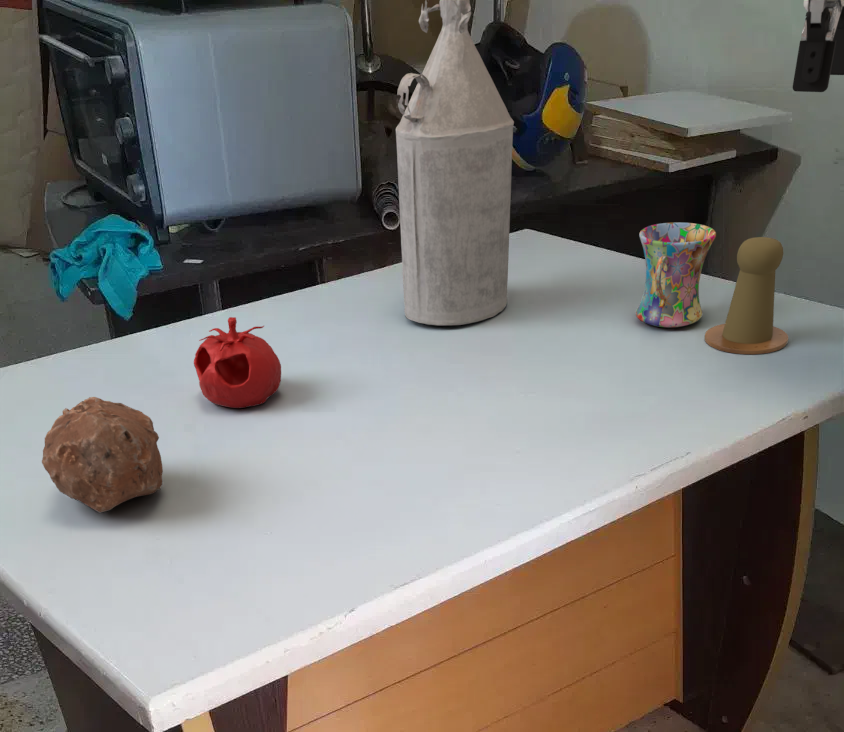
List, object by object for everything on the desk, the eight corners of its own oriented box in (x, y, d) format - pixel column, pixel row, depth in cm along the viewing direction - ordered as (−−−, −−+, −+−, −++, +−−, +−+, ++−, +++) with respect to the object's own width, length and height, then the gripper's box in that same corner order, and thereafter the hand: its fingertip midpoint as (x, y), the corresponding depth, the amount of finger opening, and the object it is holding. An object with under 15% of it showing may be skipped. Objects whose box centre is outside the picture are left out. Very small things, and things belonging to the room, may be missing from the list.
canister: (379, 321, 138) (351, -50, 112) (460, 286, 147) (451, -63, 121) (451, 339, 131) (439, -51, 105) (530, 301, 141) (538, -64, 114)
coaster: (796, 331, 127) (796, 327, 127) (776, 359, 121) (777, 354, 120) (717, 322, 131) (718, 318, 131) (694, 348, 125) (694, 344, 124)
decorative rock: (177, 517, 98) (154, 417, 92) (59, 538, 96) (26, 438, 89) (164, 461, 108) (142, 367, 101) (56, 480, 106) (27, 385, 99)
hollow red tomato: (240, 376, 125) (226, 297, 119) (301, 391, 120) (291, 310, 114) (182, 404, 119) (165, 323, 113) (244, 421, 114) (230, 338, 108)
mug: (644, 305, 137) (652, 219, 130) (712, 312, 134) (724, 225, 127) (615, 335, 129) (622, 245, 122) (687, 344, 126) (698, 252, 119)
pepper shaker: (763, 346, 123) (780, 249, 115) (715, 339, 125) (728, 243, 118) (779, 330, 126) (796, 235, 119) (731, 324, 129) (745, 230, 122)
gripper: (889, -149, 82) (841, 99, 93) (922, -153, 93) (876, 69, 104) (794, -143, 85) (759, 97, 96) (838, -148, 96) (802, 67, 107)
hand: (820, 82), depth 100 cm, fingers open, 9 cm apart
